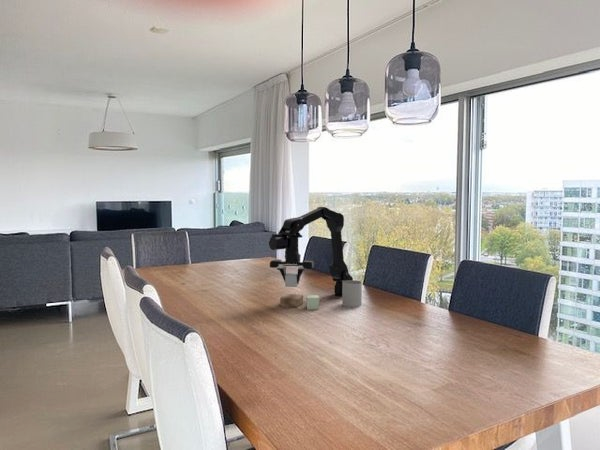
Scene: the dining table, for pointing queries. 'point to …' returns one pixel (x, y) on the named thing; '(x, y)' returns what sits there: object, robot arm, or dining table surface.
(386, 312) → the dining table surface
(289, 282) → the grey cube
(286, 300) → the walnut base
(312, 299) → the sage cube
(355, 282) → the cup
